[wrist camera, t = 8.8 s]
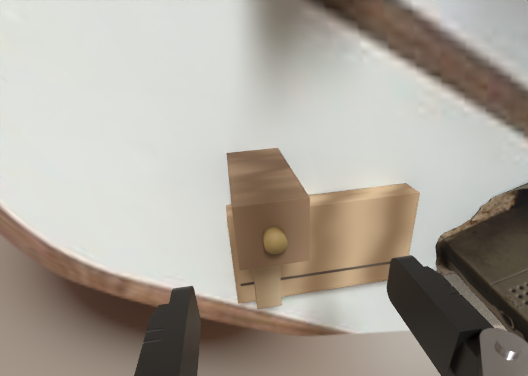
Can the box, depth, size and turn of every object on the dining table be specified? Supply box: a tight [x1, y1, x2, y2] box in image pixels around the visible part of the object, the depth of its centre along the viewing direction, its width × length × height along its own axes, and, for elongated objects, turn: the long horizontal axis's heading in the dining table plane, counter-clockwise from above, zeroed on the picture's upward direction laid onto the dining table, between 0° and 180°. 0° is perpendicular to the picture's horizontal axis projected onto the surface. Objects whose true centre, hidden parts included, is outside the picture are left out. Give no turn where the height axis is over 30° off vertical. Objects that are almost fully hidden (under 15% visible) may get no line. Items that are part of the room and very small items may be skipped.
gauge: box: [227, 148, 310, 309], centre depth 21 cm, size 4×12×10 cm, turn 4°
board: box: [226, 183, 420, 303], centre depth 26 cm, size 16×9×2 cm, turn 94°
